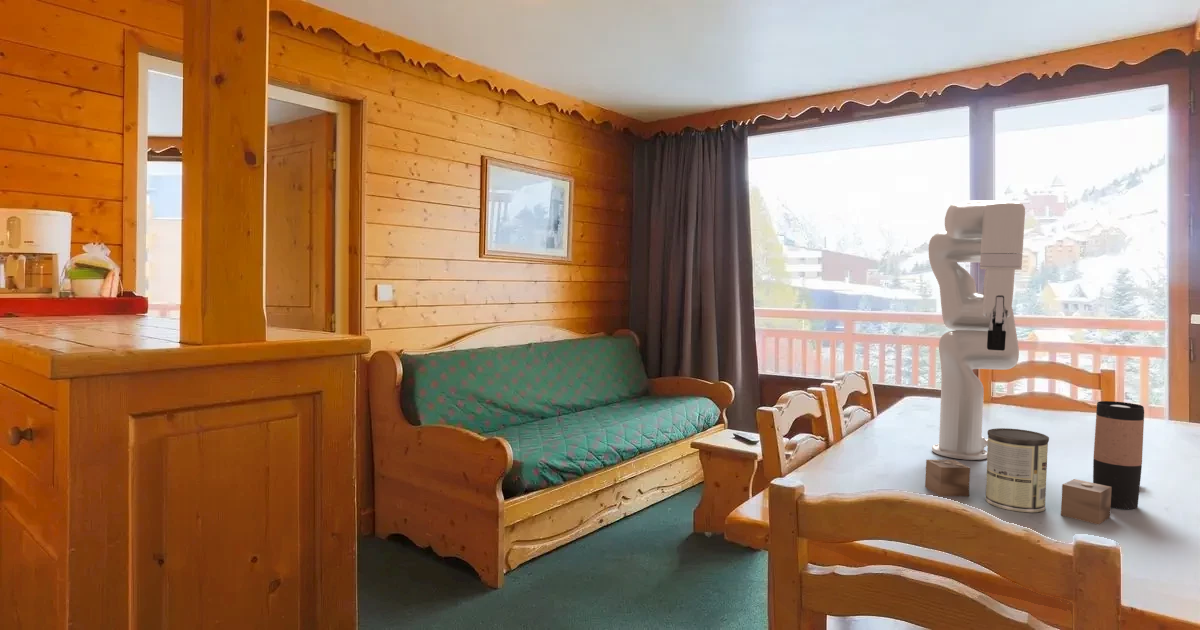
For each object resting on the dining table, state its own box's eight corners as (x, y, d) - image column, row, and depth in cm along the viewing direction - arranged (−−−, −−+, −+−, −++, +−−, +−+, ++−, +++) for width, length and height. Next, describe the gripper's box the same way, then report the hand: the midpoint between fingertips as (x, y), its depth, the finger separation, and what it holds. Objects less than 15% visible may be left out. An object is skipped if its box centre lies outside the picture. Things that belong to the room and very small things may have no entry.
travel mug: (1081, 497, 138) (1086, 401, 137) (1116, 497, 138) (1121, 400, 137) (1113, 510, 130) (1118, 408, 129) (1149, 510, 131) (1155, 408, 130)
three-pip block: (952, 487, 144) (954, 458, 144) (968, 496, 138) (970, 466, 138) (925, 487, 144) (926, 458, 144) (940, 496, 138) (941, 466, 138)
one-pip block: (1072, 509, 131) (1074, 477, 131) (1109, 518, 126) (1111, 485, 126) (1060, 515, 127) (1062, 483, 127) (1098, 525, 123) (1100, 491, 122)
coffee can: (982, 492, 140) (985, 425, 139) (1040, 500, 136) (1044, 431, 135) (987, 507, 131) (990, 436, 130) (1050, 516, 127) (1053, 442, 126)
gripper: (979, 261, 148) (974, 344, 150) (981, 262, 135) (976, 353, 137) (1019, 261, 145) (1013, 346, 147) (1025, 263, 132) (1019, 356, 134)
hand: (995, 349), depth 142 cm, fingers closed
